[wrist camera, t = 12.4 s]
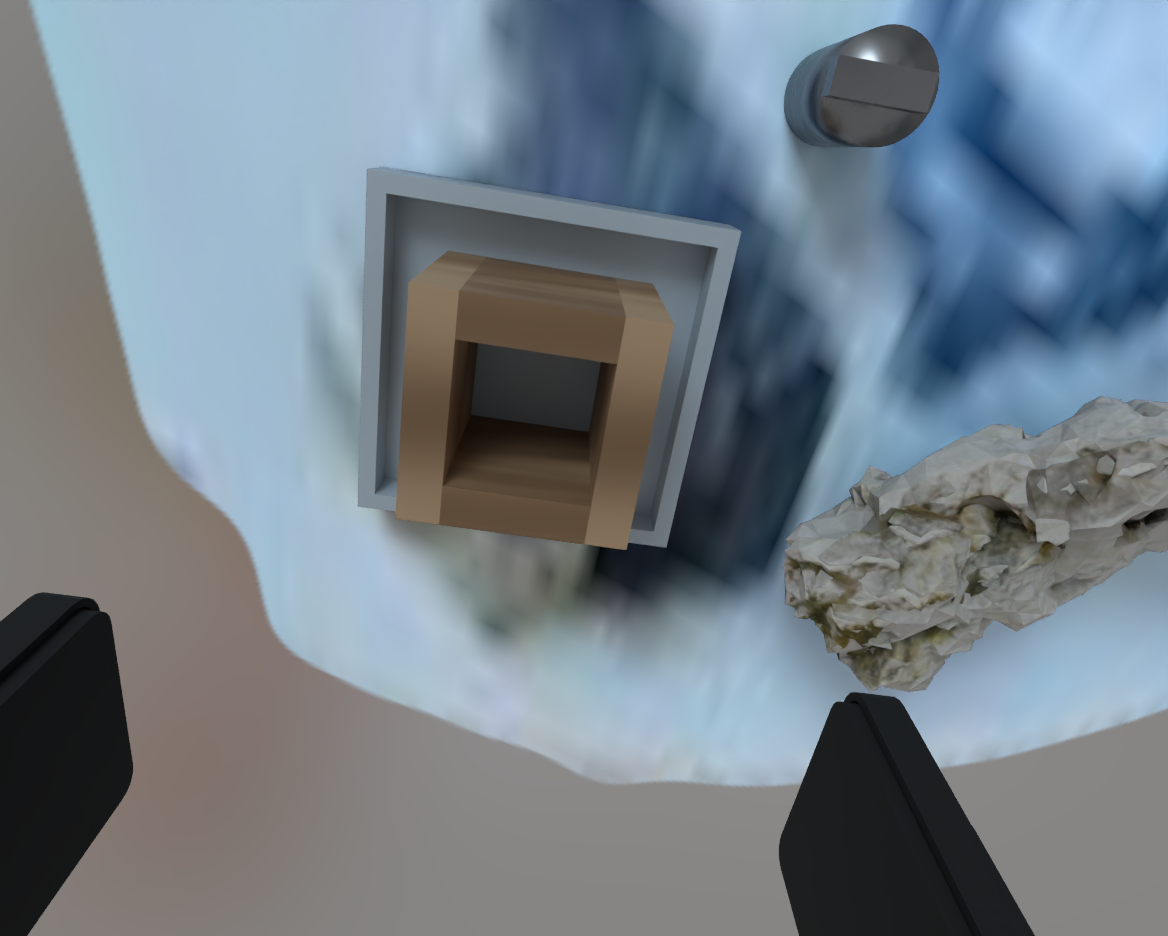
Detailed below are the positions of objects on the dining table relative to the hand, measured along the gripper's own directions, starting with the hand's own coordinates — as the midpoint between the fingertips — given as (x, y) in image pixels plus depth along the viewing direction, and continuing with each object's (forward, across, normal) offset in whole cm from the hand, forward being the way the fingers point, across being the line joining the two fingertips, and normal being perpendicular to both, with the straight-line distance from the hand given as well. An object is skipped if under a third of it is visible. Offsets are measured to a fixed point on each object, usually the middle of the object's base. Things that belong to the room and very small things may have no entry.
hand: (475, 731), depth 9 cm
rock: (+18, -18, +2) cm, 26 cm away
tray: (+18, 0, 0) cm, 18 cm away
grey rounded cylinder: (+18, -8, -10) cm, 22 cm away
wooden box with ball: (+18, 0, 0) cm, 18 cm away
